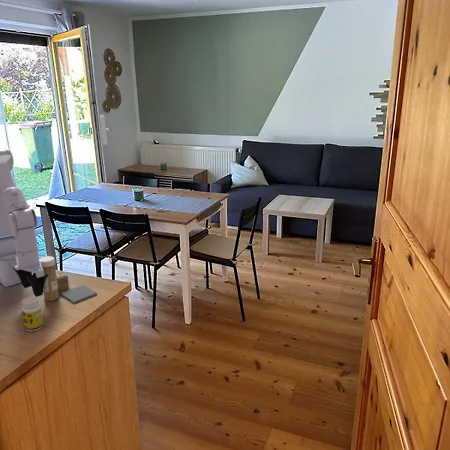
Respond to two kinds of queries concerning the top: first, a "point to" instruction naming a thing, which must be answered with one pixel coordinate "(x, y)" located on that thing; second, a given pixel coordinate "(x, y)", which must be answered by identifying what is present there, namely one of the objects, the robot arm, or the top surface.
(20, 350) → the top surface
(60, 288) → the walnut block
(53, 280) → the sprinkles bottle
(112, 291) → the top surface
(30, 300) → the supplement bottle
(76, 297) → the grey mat
